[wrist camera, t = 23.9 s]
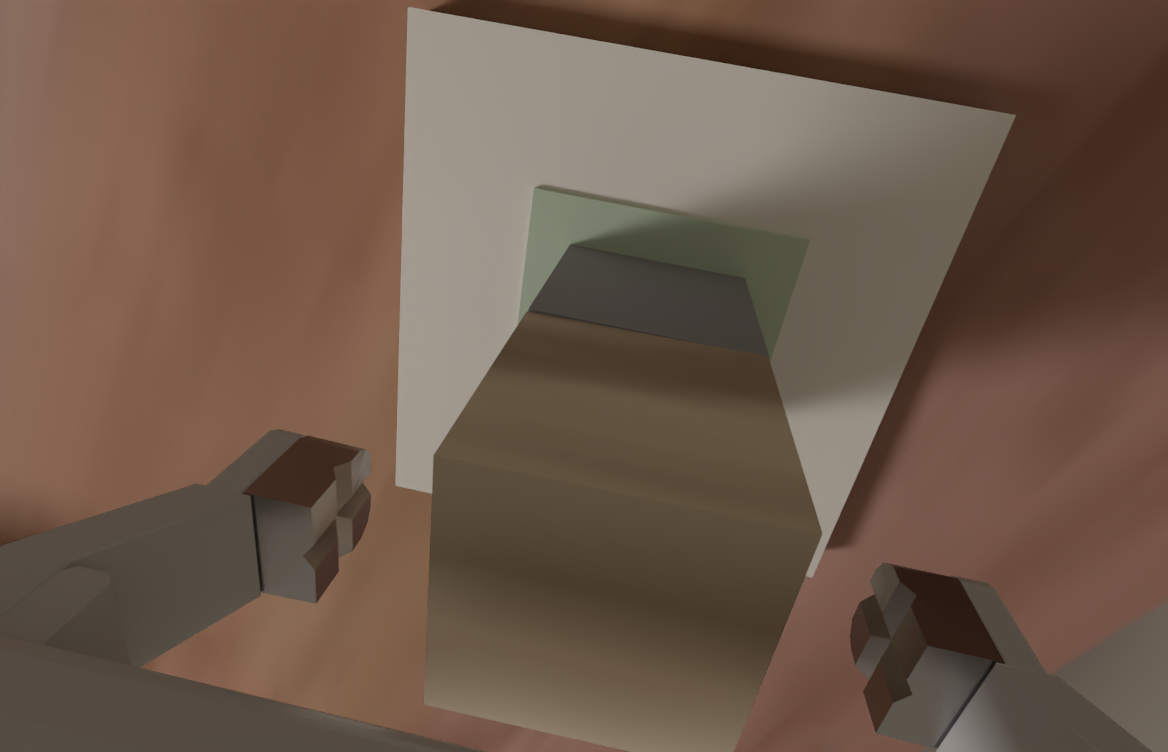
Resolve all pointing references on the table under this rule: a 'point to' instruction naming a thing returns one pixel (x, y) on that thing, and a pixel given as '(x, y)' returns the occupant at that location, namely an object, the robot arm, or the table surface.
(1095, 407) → the table surface
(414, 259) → the build board
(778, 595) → the birch block
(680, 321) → the grey block
